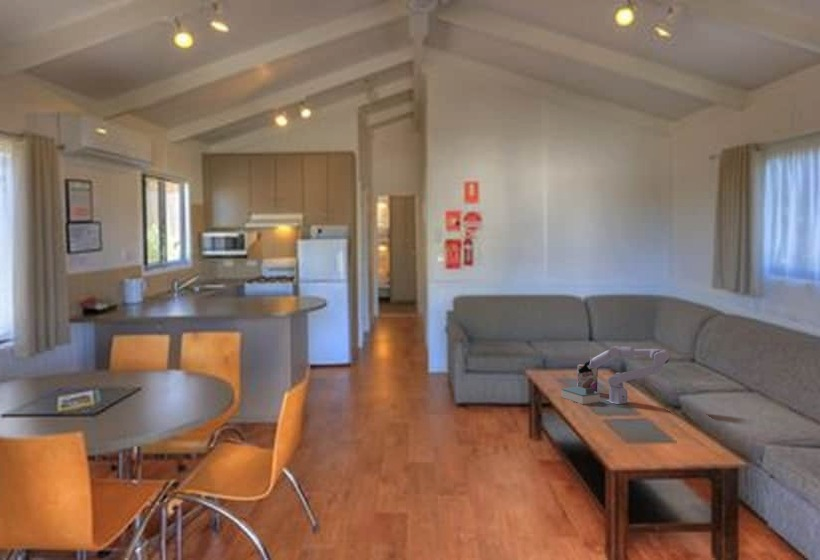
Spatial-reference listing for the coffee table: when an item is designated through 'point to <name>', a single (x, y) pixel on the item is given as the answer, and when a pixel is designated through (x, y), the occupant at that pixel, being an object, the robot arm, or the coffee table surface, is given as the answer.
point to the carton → (581, 398)
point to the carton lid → (581, 391)
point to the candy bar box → (587, 378)
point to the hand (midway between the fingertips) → (581, 370)
